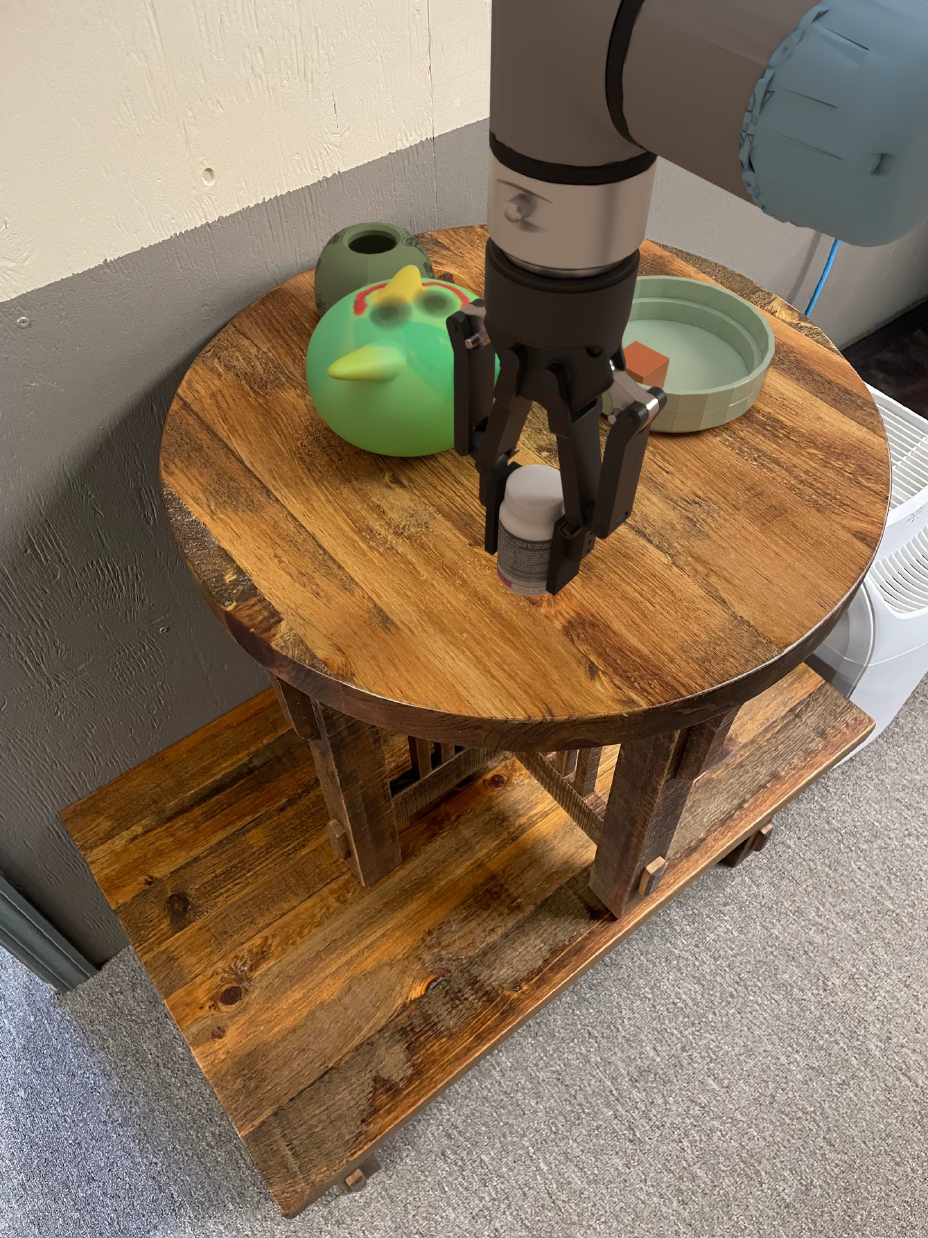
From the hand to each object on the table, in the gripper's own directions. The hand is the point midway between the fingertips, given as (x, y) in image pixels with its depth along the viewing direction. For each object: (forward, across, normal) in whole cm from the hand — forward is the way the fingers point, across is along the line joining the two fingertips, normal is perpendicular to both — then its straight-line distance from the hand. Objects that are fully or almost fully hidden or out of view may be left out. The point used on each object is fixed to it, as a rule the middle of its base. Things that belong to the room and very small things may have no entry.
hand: (530, 561), depth 60 cm
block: (+7, -10, +28) cm, 31 cm away
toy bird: (+8, -22, +11) cm, 26 cm away
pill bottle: (+1, 0, 0) cm, 1 cm away
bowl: (+8, -10, +34) cm, 36 cm away
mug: (+8, -37, +21) cm, 43 cm away
